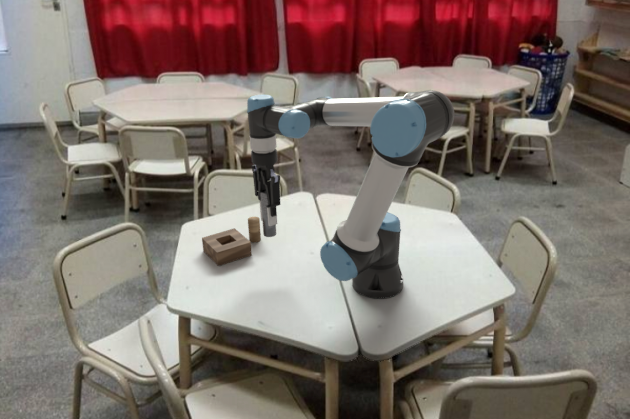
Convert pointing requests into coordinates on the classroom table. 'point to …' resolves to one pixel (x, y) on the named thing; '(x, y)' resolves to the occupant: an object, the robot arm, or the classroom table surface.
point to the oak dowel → (254, 229)
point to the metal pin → (266, 216)
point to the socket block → (226, 246)
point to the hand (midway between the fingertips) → (269, 221)
